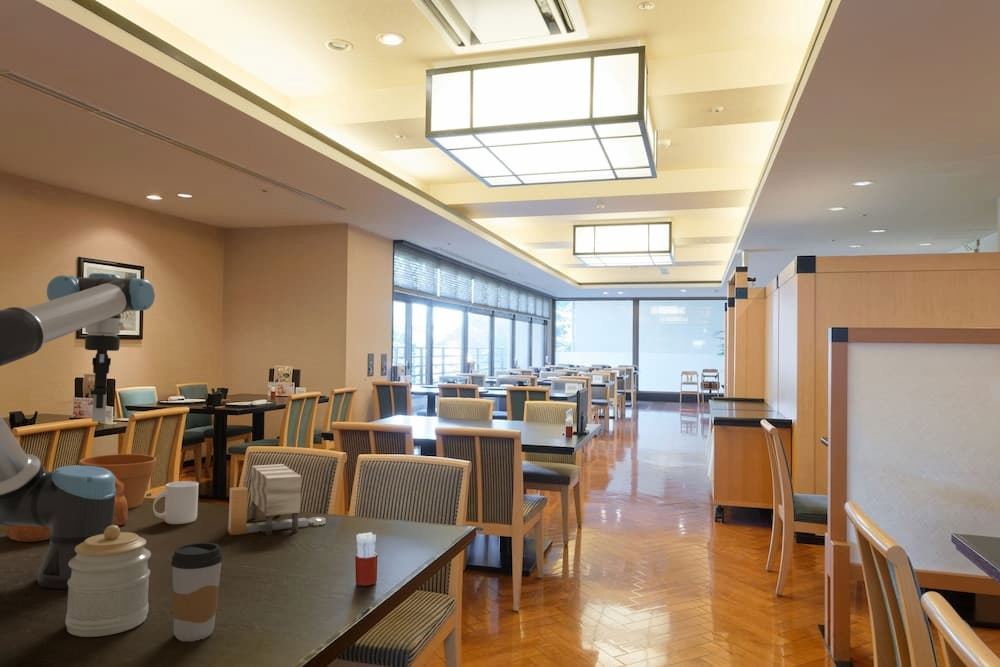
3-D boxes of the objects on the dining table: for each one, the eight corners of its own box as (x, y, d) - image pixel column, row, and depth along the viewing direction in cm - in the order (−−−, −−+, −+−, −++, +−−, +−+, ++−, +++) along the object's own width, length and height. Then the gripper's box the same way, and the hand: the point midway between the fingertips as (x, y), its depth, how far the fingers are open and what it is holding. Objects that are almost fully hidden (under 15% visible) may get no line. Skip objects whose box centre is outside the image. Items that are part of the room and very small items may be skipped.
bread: (132, 525, 185) (135, 470, 185) (22, 546, 163) (25, 483, 164) (109, 517, 193) (112, 464, 194) (1, 535, 171) (4, 476, 172)
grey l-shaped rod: (308, 526, 189) (310, 484, 189) (230, 535, 178) (232, 490, 178) (304, 523, 192) (306, 482, 193) (228, 531, 181) (230, 487, 182)
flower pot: (169, 502, 214) (171, 456, 214) (115, 516, 193) (118, 466, 194) (117, 496, 219) (119, 452, 220) (59, 510, 199) (62, 461, 200)
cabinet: (299, 532, 182) (301, 476, 183) (265, 536, 178) (267, 478, 178) (280, 514, 201) (282, 464, 202) (249, 517, 197) (252, 465, 197)
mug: (147, 522, 189) (148, 484, 189) (190, 515, 197) (192, 480, 197) (156, 528, 182) (158, 489, 183) (201, 521, 191) (203, 484, 191)
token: (328, 525, 192) (328, 519, 192) (311, 527, 189) (312, 522, 189) (321, 521, 196) (321, 516, 196) (305, 524, 193) (305, 518, 193)
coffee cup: (205, 620, 122) (209, 539, 122) (228, 634, 116) (232, 548, 117) (159, 634, 115) (163, 548, 116) (181, 649, 110) (185, 558, 110)
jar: (161, 610, 126) (165, 517, 127) (124, 639, 113) (129, 535, 114) (92, 609, 126) (96, 516, 126) (47, 638, 113) (53, 534, 113)
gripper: (121, 335, 158) (116, 423, 157) (118, 336, 179) (115, 414, 179) (84, 333, 154) (79, 424, 153) (86, 334, 175) (82, 414, 175)
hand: (98, 419), depth 166 cm, fingers open, 13 cm apart
